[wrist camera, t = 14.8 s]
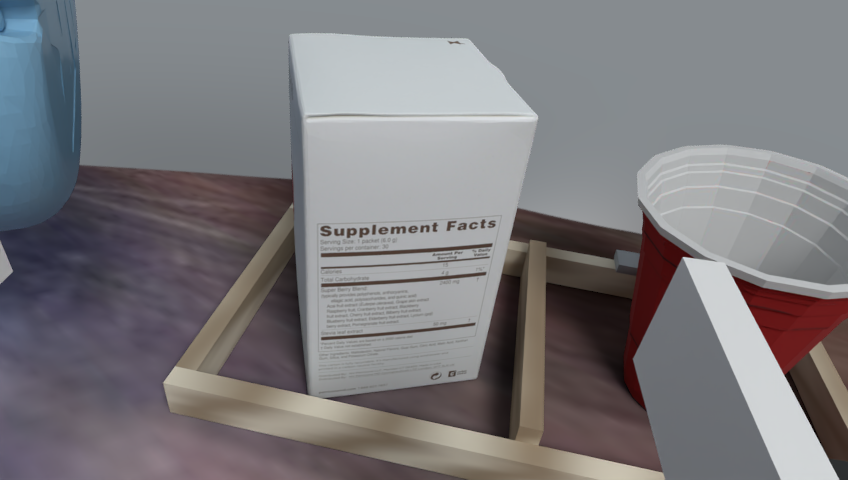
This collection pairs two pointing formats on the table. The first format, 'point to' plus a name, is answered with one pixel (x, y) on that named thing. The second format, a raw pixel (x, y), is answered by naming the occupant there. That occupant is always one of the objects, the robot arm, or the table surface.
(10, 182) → the robot arm
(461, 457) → the wooden frame
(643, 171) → the plastic cup
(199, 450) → the table surface
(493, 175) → the supplement box
